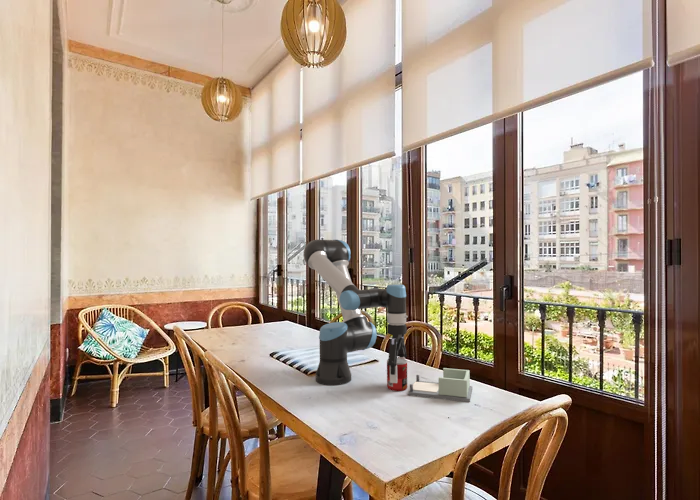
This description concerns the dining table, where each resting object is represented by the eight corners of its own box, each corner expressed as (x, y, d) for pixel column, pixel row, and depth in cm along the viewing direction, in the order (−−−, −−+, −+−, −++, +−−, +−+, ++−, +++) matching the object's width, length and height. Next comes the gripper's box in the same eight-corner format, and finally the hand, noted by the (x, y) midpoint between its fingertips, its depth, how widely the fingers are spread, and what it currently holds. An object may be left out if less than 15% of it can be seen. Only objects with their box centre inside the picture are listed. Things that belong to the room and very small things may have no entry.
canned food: (406, 392, 159) (406, 363, 159) (386, 390, 160) (385, 362, 160) (408, 385, 166) (407, 358, 166) (388, 384, 168) (388, 357, 168)
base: (408, 395, 155) (408, 385, 155) (416, 383, 169) (416, 374, 169) (469, 402, 148) (469, 391, 148) (472, 389, 162) (472, 379, 162)
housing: (438, 394, 152) (438, 377, 152) (443, 383, 165) (443, 368, 165) (466, 397, 148) (466, 380, 148) (469, 385, 162) (469, 370, 162)
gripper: (398, 329, 151) (399, 388, 150) (412, 319, 174) (413, 370, 173) (378, 328, 153) (379, 386, 153) (395, 319, 177) (396, 369, 176)
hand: (397, 377), depth 163 cm, fingers open, 13 cm apart
